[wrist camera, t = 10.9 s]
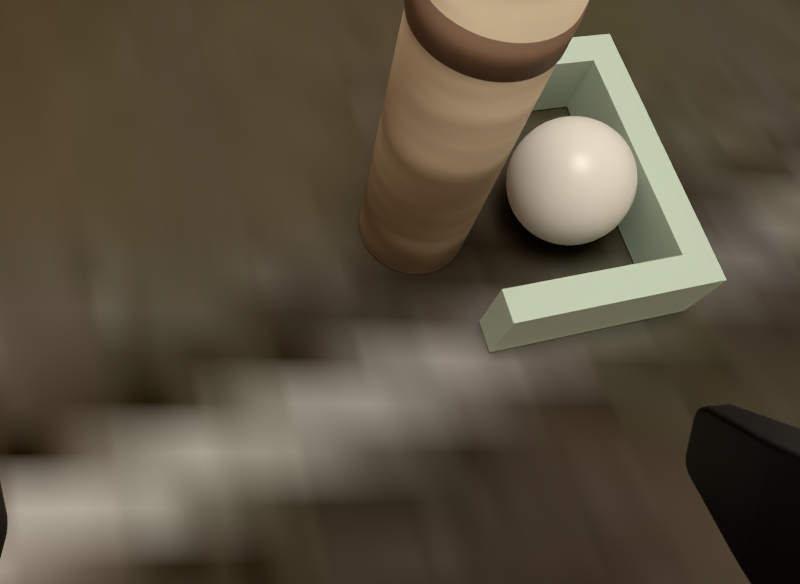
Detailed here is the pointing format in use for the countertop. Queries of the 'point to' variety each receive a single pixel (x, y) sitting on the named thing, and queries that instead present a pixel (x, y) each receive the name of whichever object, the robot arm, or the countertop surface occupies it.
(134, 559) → the countertop surface
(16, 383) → the countertop surface
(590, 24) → the countertop surface
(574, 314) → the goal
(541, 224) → the ball
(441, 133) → the player peg
